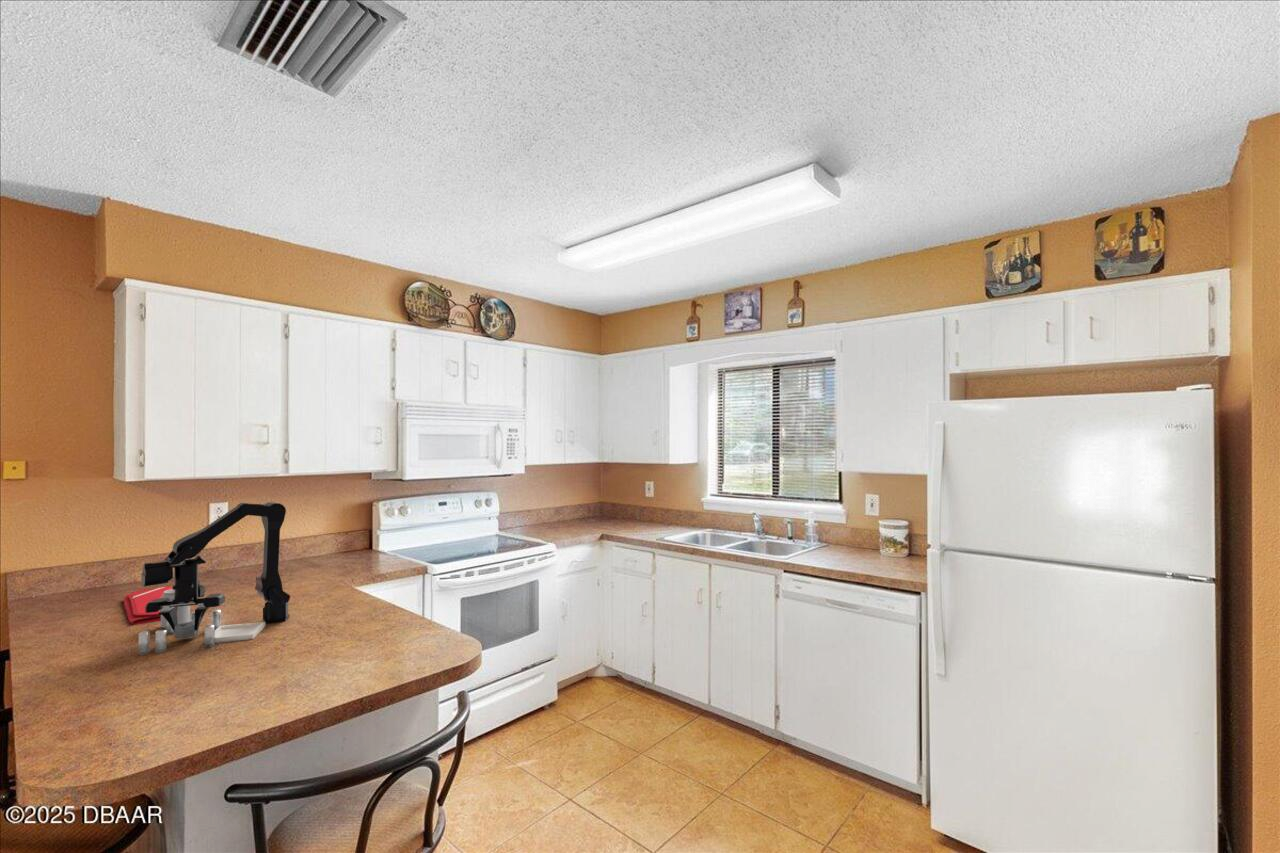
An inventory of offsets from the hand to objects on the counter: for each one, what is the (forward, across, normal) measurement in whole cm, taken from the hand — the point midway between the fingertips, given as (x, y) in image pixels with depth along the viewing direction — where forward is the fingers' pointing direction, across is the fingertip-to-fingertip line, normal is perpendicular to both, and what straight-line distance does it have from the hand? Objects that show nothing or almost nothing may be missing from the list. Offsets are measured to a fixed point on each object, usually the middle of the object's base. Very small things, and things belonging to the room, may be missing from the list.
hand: (186, 630), depth 177 cm
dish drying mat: (+4, +26, -44) cm, 52 cm away
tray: (+3, -13, 0) cm, 13 cm away
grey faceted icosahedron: (+2, 0, 0) cm, 2 cm away
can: (+3, +9, -16) cm, 19 cm away
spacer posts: (+3, -1, 0) cm, 3 cm away
